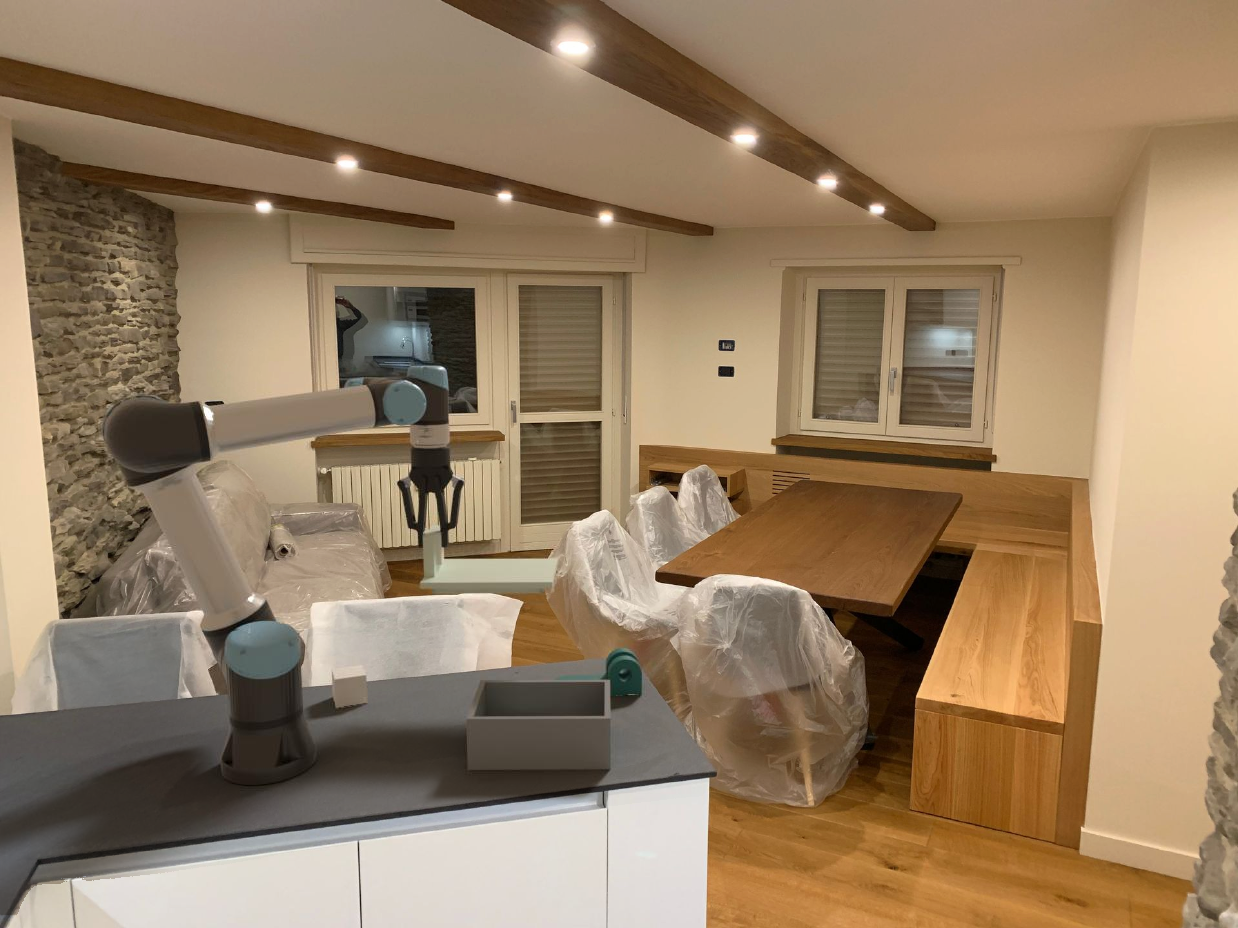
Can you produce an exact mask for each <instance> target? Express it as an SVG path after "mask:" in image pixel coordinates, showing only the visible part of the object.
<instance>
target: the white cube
mask: <svg viewBox="0 0 1238 928" xmlns="http://www.w3.org/2000/svg"><path fill="white" fill-rule="evenodd" d="M331 683H332V684H331V685H332V686H331V688H332V689H331V691H332V699H333V702H335V703H334V706H335V708H336V707H341V708H345V707H344V706H348V707H350V706H349V705H354V706H357V705H356V704H361V705H363V704H362V703H367V704H368V685H367V684H368V682H367V674H366V671H365V668H364V666H363V664H359V665H352V666H347V667H346V666H345V667H337V668H331Z"/></svg>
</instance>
